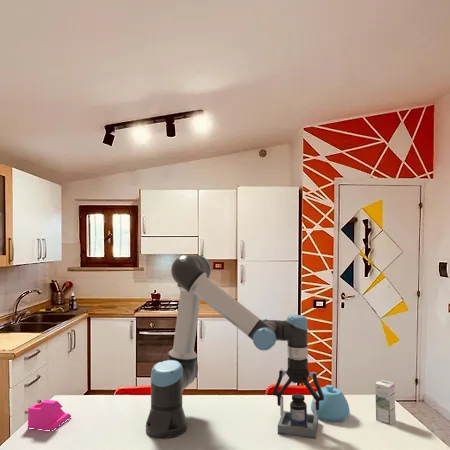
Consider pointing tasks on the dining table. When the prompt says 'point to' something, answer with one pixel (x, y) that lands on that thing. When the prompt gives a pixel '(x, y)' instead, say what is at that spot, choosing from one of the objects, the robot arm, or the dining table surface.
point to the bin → (306, 432)
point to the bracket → (46, 415)
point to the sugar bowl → (332, 405)
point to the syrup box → (385, 401)
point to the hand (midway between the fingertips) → (298, 416)
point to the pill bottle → (298, 411)
